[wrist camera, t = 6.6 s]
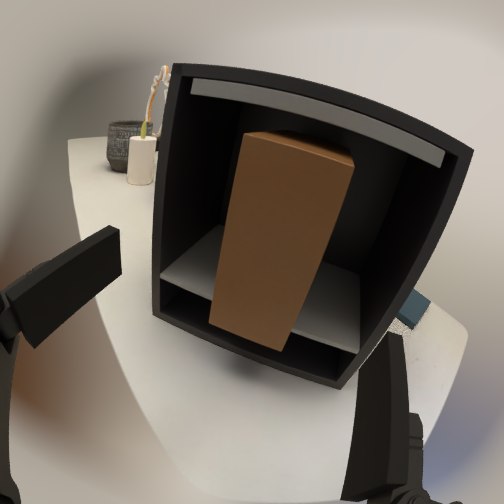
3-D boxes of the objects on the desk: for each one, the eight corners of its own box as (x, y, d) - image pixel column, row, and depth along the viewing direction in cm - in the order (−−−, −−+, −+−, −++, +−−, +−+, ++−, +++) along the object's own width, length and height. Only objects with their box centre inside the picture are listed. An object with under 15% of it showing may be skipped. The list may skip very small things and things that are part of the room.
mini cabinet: (348, 308, 36) (420, 137, 23) (340, 389, 24) (474, 149, 12) (208, 256, 39) (241, 82, 27) (152, 314, 27) (172, 63, 15)
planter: (105, 175, 59) (108, 125, 53) (106, 163, 68) (109, 120, 62) (150, 173, 65) (156, 125, 59) (145, 162, 74) (150, 120, 68)
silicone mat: (428, 305, 40) (431, 301, 40) (412, 329, 34) (415, 324, 33) (378, 269, 47) (380, 265, 47) (353, 285, 41) (356, 279, 40)
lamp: (174, 152, 89) (189, 66, 73) (151, 154, 83) (166, 62, 67) (154, 143, 98) (166, 67, 82) (134, 144, 92) (146, 65, 76)
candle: (151, 176, 64) (158, 118, 56) (153, 185, 59) (160, 121, 51) (127, 176, 61) (132, 117, 53) (126, 185, 56) (132, 120, 48)
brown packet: (306, 273, 30) (349, 148, 23) (281, 352, 20) (355, 166, 12) (255, 254, 31) (287, 129, 24) (208, 323, 21) (243, 133, 14)
